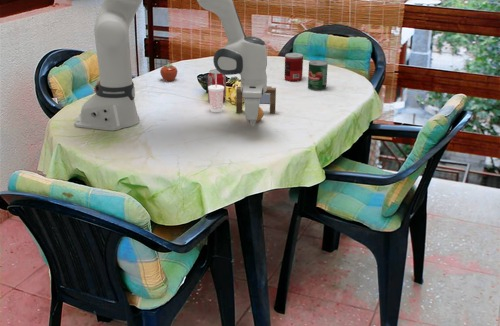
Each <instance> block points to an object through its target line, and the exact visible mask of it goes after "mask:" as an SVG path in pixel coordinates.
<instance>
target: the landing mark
mask: <svg viewBox="0 0 500 326" xmlns="http://www.w3.org/2000/svg"><path fill="white" fill-rule="evenodd" d="M260 104H262V105H270V93H264V94H263V96H262V98H261V99H260ZM260 104H259V105H260Z"/></svg>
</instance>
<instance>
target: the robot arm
mask: <svg viewBox="0 0 500 326" xmlns="http://www.w3.org/2000/svg"><path fill="white" fill-rule="evenodd" d="M196 1H197V3H198V5H199V6H200V7H201V8H203V10H206V11H208V12H211V13H213V14H215V15H216V16H217V17H218V18H219V20H220V22H221V25H222V28H223V30H224V32H225V33H224V34H225V36H226V38H227V45H226V44H225V45H224V46H222V47H220V48H219V49H218V50H216V51H215V53H214V54H213V65H214V67H215V69H217V70H218V72H220V73H221V74H224V75H226V76H230V75H231V76H233V75H239V76H240V87H241V91H242V98H243V97H244V103H243V104H244V112H245V113H244V115H245V118H246V120H247V121H250V126H256V123H257V121H256V120H257V117H258V110H259V107H260V99H261V98H262V96H263V94H265V93H264V92H266V90H267V86H268V85H267V82H268V76H267V75H268V74H267V66H268V52H267V51H268V49H267V45H266V43H265V41H264V40H262V38H259V37H256V36H247V35H246V34H245V31H244V28H243V25H242V22H241V20H240V15H239V14H238V11H237V8H236V6H235V2H233V1H234V0H196ZM142 2H143V0H104V1H103V2H102V5H101V7H100V10H99V12H98V14H97V17H96V19H95V24H94V27H93V32H94V34H93V35H94V41H95V42H94V43H95V48H96V56H97V63H98V73H99V80H98V81H97V82H96V84H95V86H94V88H93V91H94V93H95V94H93V96H91V97H90V98H89V99H87V100H86V101H85V102H84V103H83V105H82V107H81V110H80V114H79V116H77V117H76V118H75V120H74V126H75V127H76V128H83V129H84V128H85V129H94V130H102V131H103V130H104V131H110V132H112V131H114V132H115V131H118V130H121V129H124V128H130V127H133V126H135V125H137V124H138V123H140V122H141V120H140V116H139V113H138V111H137V107H136V102H135V98H136V92H135V84H134V81H133V72H132V71H133V69H132V58H131V47H130V32H129V31H130V27H131V25H132V22H133V20H134V18H135V15H136V13H137V12H138V9H139V7H140V6H141V4H142Z"/></svg>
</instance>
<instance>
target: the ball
mask: <svg viewBox="0 0 500 326" xmlns="http://www.w3.org/2000/svg"><path fill="white" fill-rule="evenodd" d="M263 117H264V110H263V109H262V108H261V107H260V106H259V110H258V117H257V120H256V122H259V121H261V120H262V118H263Z"/></svg>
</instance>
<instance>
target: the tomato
mask: <svg viewBox="0 0 500 326" xmlns="http://www.w3.org/2000/svg"><path fill="white" fill-rule="evenodd" d="M159 73H160V75H161V78H162V79H163V80H164V81H165V82H174V80H175V79H176V78H177V75H178V68H177V67H176V66H174V65H173V64H171V62H167V64H164V65H163V66H162V67H161V68H160V72H159Z"/></svg>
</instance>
